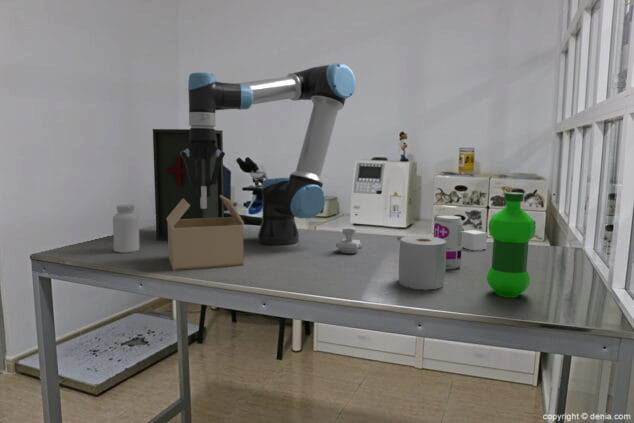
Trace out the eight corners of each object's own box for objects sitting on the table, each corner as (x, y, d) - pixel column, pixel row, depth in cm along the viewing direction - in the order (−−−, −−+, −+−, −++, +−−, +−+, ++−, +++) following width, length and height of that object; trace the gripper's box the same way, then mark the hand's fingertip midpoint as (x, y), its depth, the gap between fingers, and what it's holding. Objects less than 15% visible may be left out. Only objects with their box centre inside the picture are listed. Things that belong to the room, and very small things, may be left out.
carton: (232, 253, 163) (232, 217, 161) (243, 265, 148) (243, 225, 147) (168, 258, 156) (167, 219, 154) (173, 270, 141) (172, 228, 139)
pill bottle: (131, 253, 161) (129, 207, 159) (108, 252, 162) (106, 206, 160) (144, 248, 169) (142, 204, 166) (123, 247, 170) (121, 203, 168)
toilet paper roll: (396, 276, 138) (398, 235, 137) (441, 278, 137) (443, 236, 136) (399, 289, 127) (401, 244, 125) (448, 291, 125) (450, 245, 124)
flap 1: (184, 199, 155) (182, 198, 154) (190, 205, 141) (188, 204, 141) (167, 219, 154) (166, 218, 153) (172, 228, 140) (170, 226, 140)
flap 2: (232, 217, 161) (234, 216, 161) (242, 224, 147) (244, 223, 147) (219, 195, 158) (221, 194, 159) (228, 201, 145) (230, 200, 145)
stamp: (364, 251, 169) (364, 226, 168) (360, 255, 163) (361, 230, 161) (337, 249, 171) (338, 225, 170) (333, 253, 165) (334, 228, 164)
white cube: (473, 246, 179) (474, 230, 178) (486, 249, 174) (487, 232, 173) (460, 248, 176) (461, 231, 176) (473, 251, 171) (474, 234, 170)
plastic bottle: (476, 289, 127) (482, 191, 124) (513, 287, 129) (520, 190, 126) (499, 301, 117) (506, 195, 114) (539, 299, 120) (547, 195, 116)
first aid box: (224, 233, 197) (222, 130, 191) (203, 242, 179) (200, 129, 174) (181, 231, 201) (178, 130, 196) (156, 239, 183) (152, 129, 178)
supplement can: (445, 271, 145) (447, 219, 142) (426, 264, 152) (428, 215, 150) (466, 268, 148) (469, 218, 146) (447, 261, 156) (449, 214, 153)
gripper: (180, 126, 141) (182, 210, 144) (227, 128, 145) (227, 208, 148) (178, 127, 147) (179, 206, 151) (222, 128, 152) (223, 205, 155)
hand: (203, 207), depth 150 cm, fingers closed
